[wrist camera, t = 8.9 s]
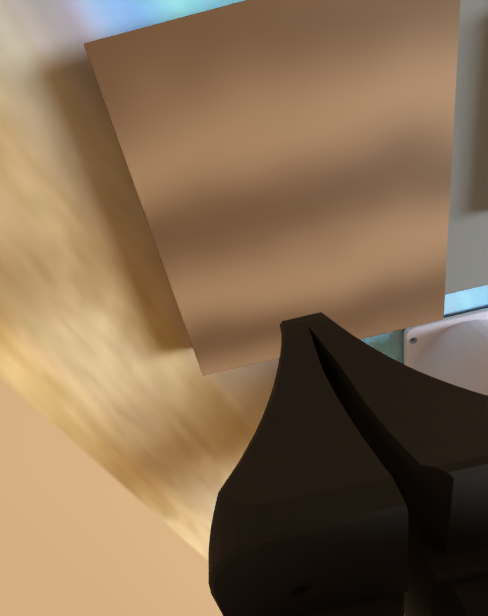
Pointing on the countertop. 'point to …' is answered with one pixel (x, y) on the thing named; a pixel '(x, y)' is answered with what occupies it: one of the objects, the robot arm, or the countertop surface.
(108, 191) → the countertop surface
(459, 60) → the mat
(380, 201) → the brown wooden slab
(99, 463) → the countertop surface
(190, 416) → the countertop surface
